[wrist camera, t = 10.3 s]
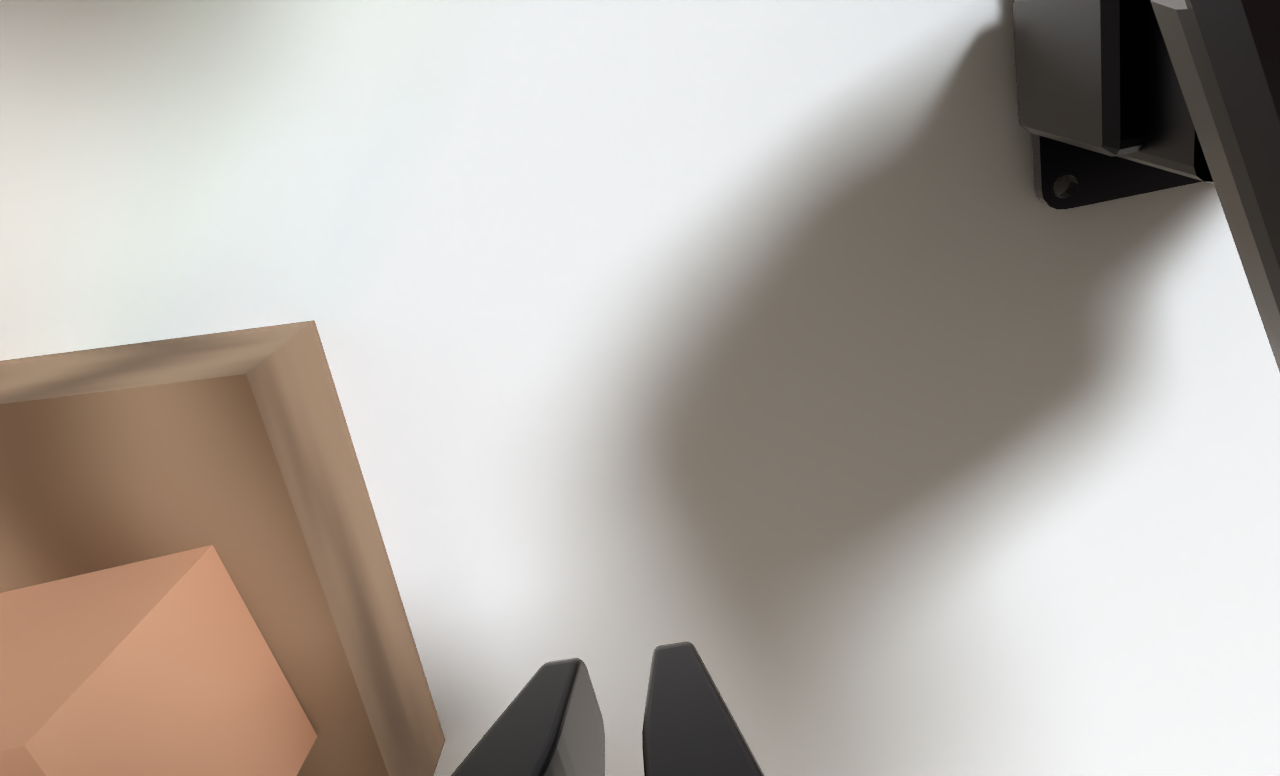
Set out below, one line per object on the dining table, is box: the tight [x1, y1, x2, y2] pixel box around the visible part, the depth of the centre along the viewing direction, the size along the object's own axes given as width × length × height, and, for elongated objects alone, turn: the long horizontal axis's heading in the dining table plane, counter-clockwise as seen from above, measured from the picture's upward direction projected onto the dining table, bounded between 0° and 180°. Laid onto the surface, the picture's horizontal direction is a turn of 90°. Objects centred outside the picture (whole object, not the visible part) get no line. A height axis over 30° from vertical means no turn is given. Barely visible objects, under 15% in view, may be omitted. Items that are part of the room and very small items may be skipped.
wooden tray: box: [0, 321, 445, 776], centre depth 23 cm, size 10×14×4 cm
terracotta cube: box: [0, 545, 317, 776], centre depth 18 cm, size 6×6×6 cm
